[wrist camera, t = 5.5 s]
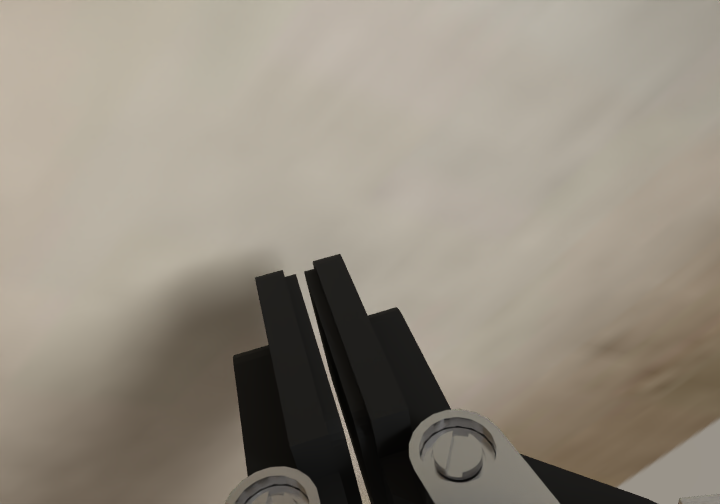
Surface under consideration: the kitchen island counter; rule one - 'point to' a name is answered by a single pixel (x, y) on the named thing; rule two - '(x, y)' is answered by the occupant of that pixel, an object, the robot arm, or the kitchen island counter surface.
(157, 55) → the kitchen island counter surface
